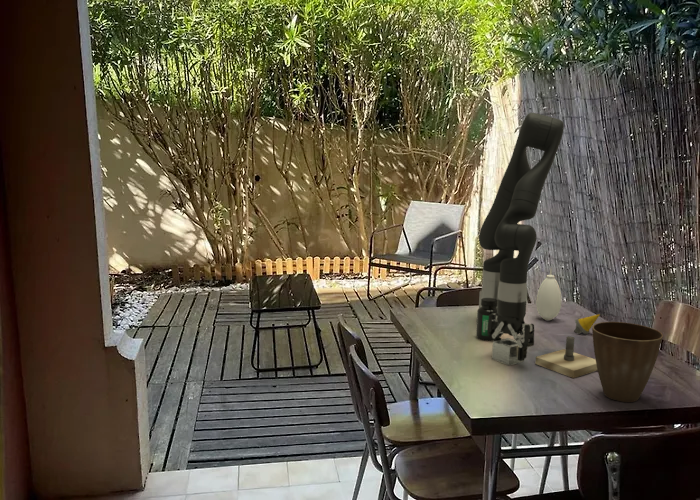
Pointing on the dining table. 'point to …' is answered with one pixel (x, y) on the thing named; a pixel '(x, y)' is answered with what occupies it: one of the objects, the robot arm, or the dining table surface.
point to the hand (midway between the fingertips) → (508, 355)
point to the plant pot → (625, 357)
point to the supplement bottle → (485, 318)
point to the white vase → (549, 298)
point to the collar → (506, 351)
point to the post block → (567, 361)
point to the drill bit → (585, 324)
